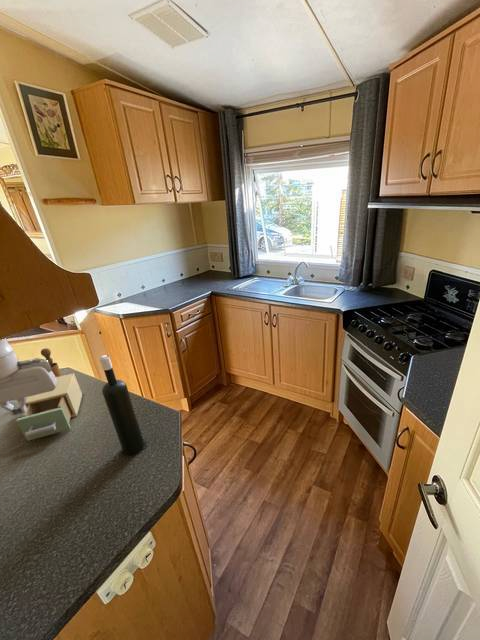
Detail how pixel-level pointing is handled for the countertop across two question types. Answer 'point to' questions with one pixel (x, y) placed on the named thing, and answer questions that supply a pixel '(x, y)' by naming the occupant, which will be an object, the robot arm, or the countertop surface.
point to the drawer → (45, 418)
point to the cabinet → (62, 393)
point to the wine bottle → (121, 410)
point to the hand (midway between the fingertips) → (19, 412)
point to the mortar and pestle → (51, 362)
